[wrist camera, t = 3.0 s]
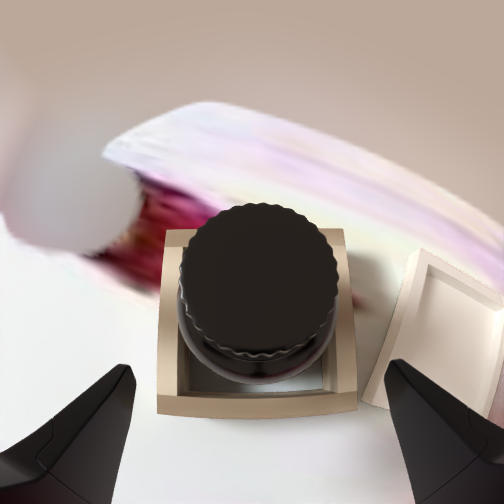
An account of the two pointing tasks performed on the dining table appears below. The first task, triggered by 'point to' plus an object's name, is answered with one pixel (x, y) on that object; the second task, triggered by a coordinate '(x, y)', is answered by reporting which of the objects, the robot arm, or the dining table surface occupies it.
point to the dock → (444, 333)
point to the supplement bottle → (258, 294)
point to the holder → (252, 404)
